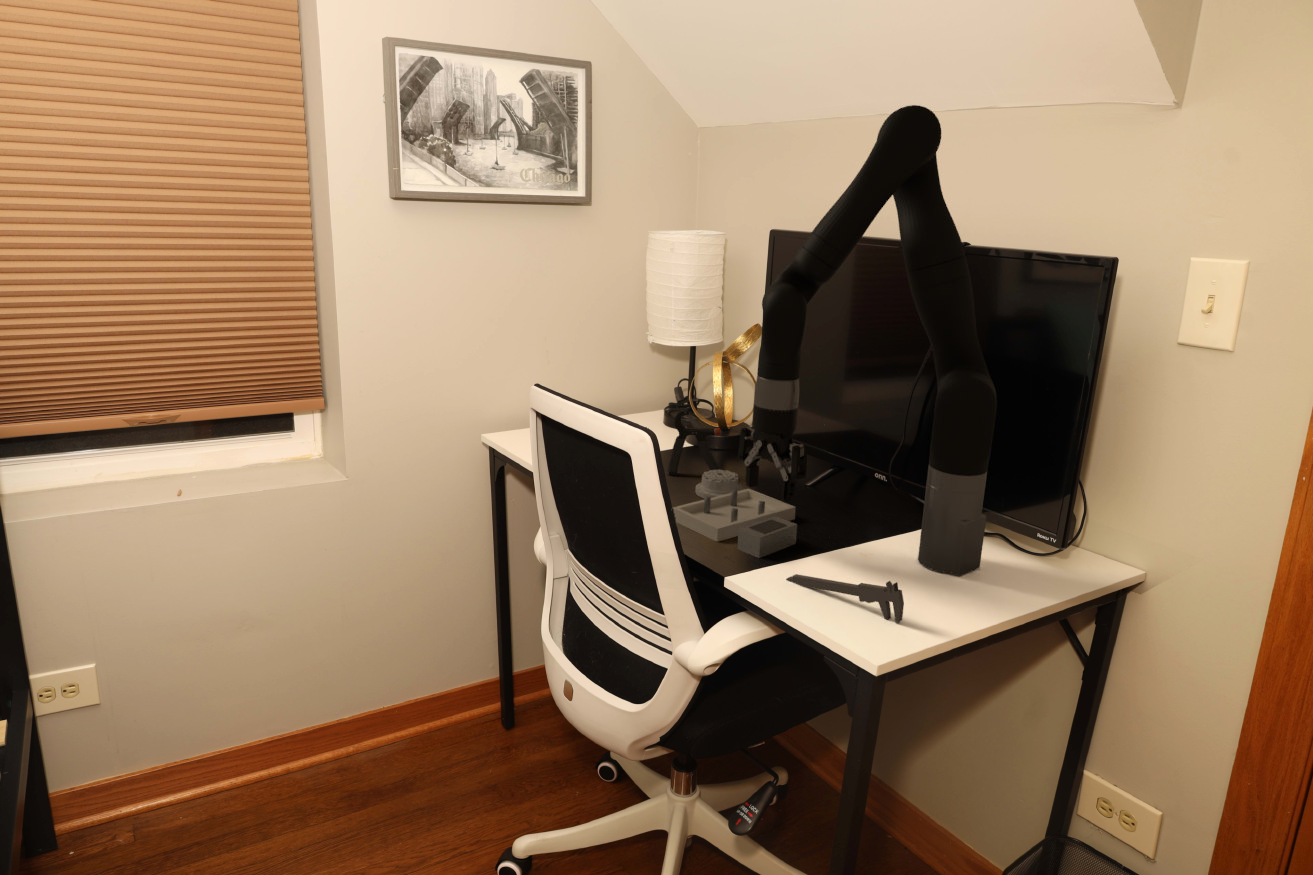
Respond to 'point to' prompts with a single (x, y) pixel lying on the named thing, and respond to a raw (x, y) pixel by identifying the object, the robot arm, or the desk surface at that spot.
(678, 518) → the pin tray
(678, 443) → the hand grip strengthener
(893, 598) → the caliper
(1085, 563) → the desk surface
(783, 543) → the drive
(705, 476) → the mechanical component
